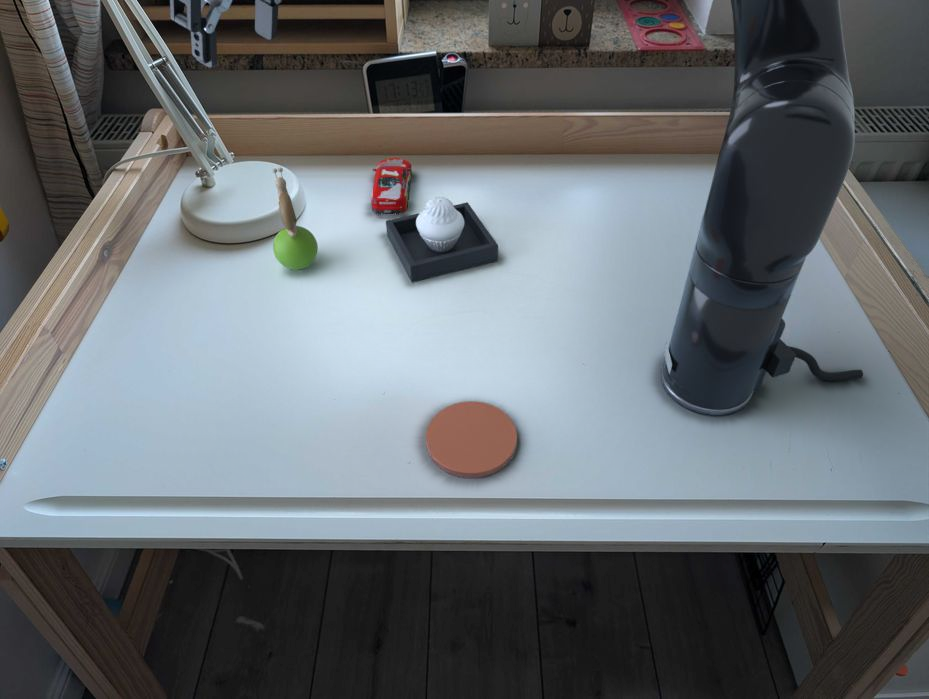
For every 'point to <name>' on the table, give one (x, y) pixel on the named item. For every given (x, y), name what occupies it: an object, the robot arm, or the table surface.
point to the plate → (471, 439)
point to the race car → (391, 186)
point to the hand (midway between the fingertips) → (236, 48)
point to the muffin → (440, 224)
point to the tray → (427, 263)
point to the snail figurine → (292, 234)
